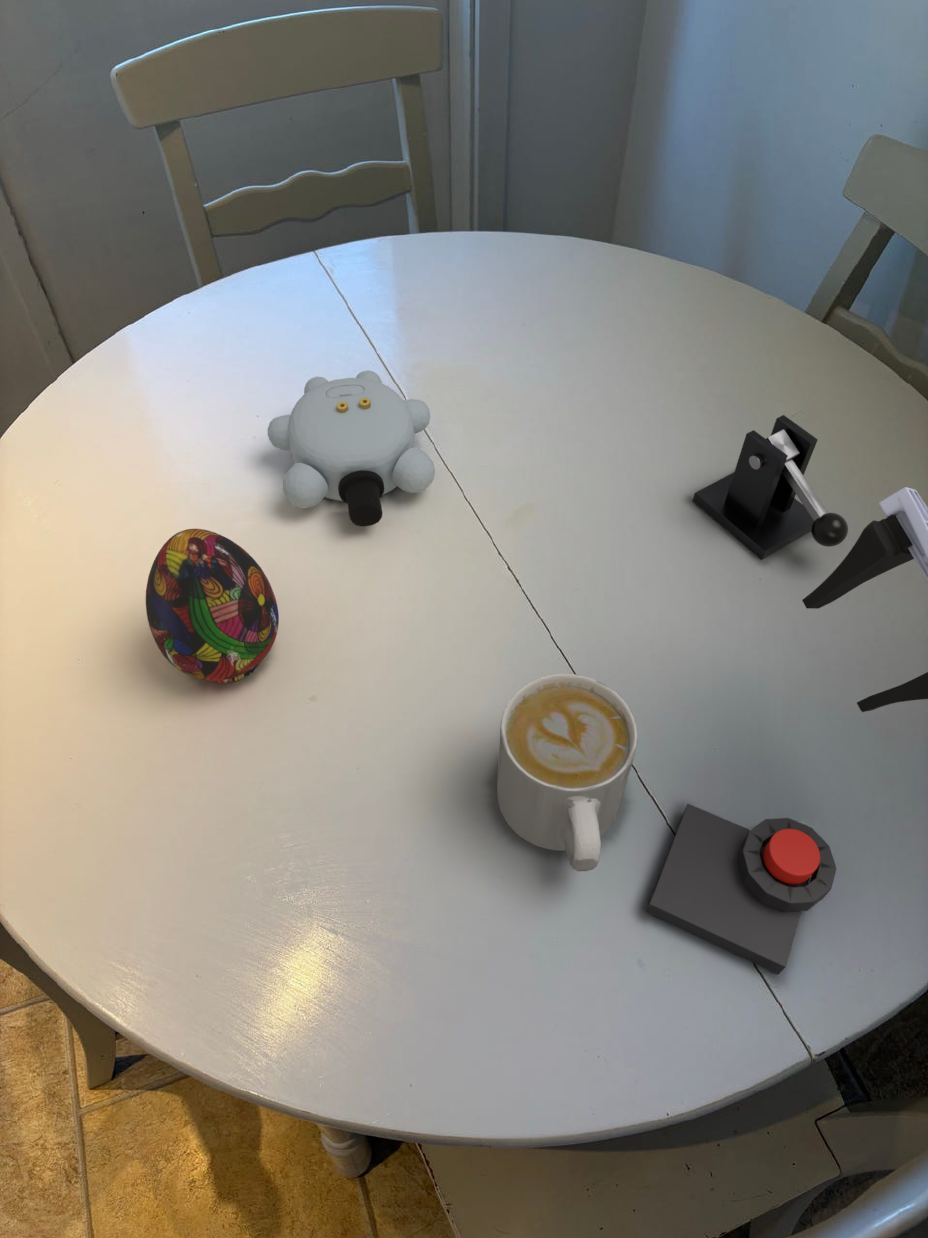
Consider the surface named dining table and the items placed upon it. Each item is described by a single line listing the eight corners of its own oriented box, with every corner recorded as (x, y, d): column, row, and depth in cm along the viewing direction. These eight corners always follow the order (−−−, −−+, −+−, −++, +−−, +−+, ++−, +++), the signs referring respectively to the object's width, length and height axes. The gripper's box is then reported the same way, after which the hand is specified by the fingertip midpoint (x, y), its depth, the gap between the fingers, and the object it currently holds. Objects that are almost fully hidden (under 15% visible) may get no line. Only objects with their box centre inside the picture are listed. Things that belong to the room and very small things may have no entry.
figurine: (269, 418, 101) (285, 558, 90) (255, 359, 94) (271, 505, 83) (420, 398, 103) (452, 533, 92) (418, 339, 96) (453, 479, 85)
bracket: (818, 527, 90) (852, 449, 82) (762, 560, 88) (791, 483, 80) (747, 471, 96) (773, 393, 88) (692, 501, 93) (713, 423, 85)
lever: (840, 543, 86) (861, 530, 83) (817, 556, 85) (838, 544, 82) (771, 440, 87) (790, 424, 84) (747, 452, 86) (766, 437, 83)
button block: (828, 859, 69) (843, 840, 66) (796, 983, 63) (811, 967, 60) (688, 800, 72) (697, 779, 69) (645, 912, 66) (653, 894, 63)
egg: (220, 724, 76) (175, 616, 64) (145, 659, 81) (89, 546, 69) (311, 648, 81) (285, 535, 69) (235, 590, 86) (198, 474, 74)
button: (818, 851, 66) (825, 841, 64) (806, 893, 64) (814, 884, 62) (770, 830, 67) (776, 820, 65) (757, 871, 65) (763, 862, 63)
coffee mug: (499, 736, 75) (503, 669, 68) (617, 743, 75) (634, 676, 67) (492, 890, 67) (495, 833, 59) (624, 898, 67) (645, 842, 59)
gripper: (959, 437, 51) (761, 559, 59) (1105, 664, 46) (867, 761, 55) (992, 453, 56) (805, 563, 64) (1127, 659, 51) (906, 749, 60)
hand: (836, 654), depth 60 cm, fingers open, 7 cm apart
